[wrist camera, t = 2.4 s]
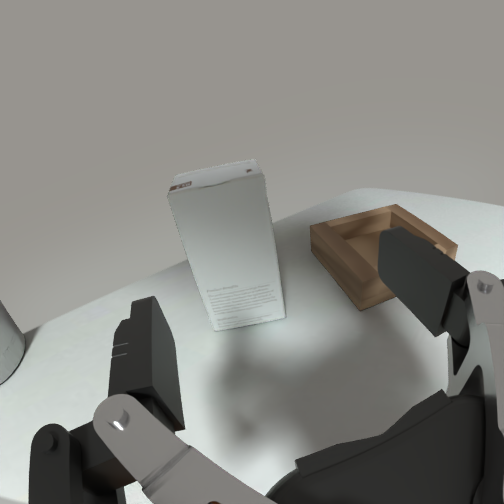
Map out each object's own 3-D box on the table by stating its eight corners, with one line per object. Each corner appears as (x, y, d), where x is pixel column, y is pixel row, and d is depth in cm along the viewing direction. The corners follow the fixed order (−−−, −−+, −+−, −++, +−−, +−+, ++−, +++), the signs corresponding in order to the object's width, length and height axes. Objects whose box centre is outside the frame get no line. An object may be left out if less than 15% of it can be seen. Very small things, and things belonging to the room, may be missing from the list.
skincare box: (277, 288, 27) (258, 154, 21) (287, 322, 24) (269, 171, 17) (210, 301, 27) (174, 171, 21) (210, 336, 24) (165, 192, 17)
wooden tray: (360, 310, 23) (362, 281, 22) (311, 251, 32) (309, 225, 30) (451, 271, 25) (457, 245, 23) (394, 227, 33) (396, 203, 32)
